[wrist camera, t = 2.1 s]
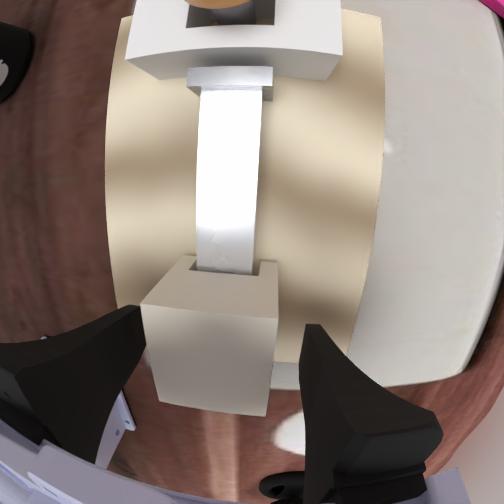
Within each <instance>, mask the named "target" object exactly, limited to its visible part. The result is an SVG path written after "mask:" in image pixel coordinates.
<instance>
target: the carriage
mask: <svg viewBox="0 0 504 504" xmlns="http://www.w3.org/2000/svg"><path fill="white" fill-rule="evenodd" d="M140 307H141V314H142V320H143V326H144V332H145V338H146V343H147V349H148V354H149V359H150V364H151V368H152V373H153V377H154V382H155V386H156V390H157V394H158V398H159V401H161V402H166V403H171V404H176V405H181V406H186V407H192V408H197V409H204V410H210V411H217V412H225V413H233V414H243V415H254V416H266V410H267V404H268V397H269V390H270V382H271V375H272V367H273V360H274V352H275V344H276V336H277V327H278V319H279V316H278V262H267V261H261V263H260V270H259V276H250V275H238V274H226V273H214V272H203V271H197V256H189V255H183V256H182V257H181V258H180V259H179V260H178V261H177V262H176V263H175V264H174V266H173V267H172V268H171V269H170V270H169V271H168V272H167V273H166V274H165V276H164V277H163V278H162V279H161V280H160V281H159V282H158V283H157V284H156V286H155V287H154V288H153V289H152V290H151V291H150V292H149V294H148V295H147V296H146V297H145V298H144V299H143V300H142V302H141V303H140Z"/></svg>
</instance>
